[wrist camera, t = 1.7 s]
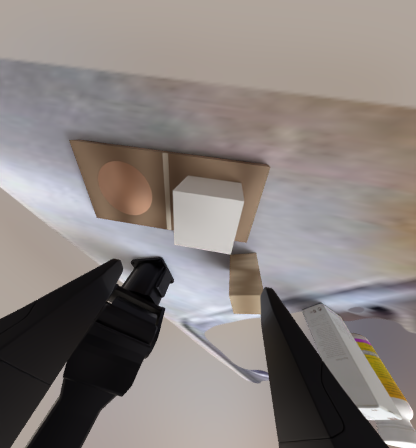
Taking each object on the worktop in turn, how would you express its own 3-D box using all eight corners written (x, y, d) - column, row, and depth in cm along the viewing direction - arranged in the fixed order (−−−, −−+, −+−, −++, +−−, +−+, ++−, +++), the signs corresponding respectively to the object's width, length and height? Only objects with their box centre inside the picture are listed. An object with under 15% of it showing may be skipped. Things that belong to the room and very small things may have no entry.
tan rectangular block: (233, 271, 26) (233, 313, 20) (230, 254, 24) (229, 295, 18) (257, 270, 25) (265, 314, 19) (256, 252, 23) (264, 295, 17)
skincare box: (300, 310, 29) (337, 408, 19) (323, 301, 26) (379, 407, 16) (320, 323, 30) (364, 421, 20) (343, 316, 28) (406, 422, 18)
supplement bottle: (336, 329, 30) (393, 438, 20) (373, 334, 30) (453, 450, 19) (323, 343, 34) (365, 441, 23) (356, 347, 33) (415, 452, 22)
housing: (186, 220, 20) (174, 244, 16) (187, 175, 17) (172, 190, 12) (231, 227, 20) (230, 254, 15) (241, 183, 16) (244, 201, 12)
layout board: (102, 213, 23) (96, 217, 22) (78, 139, 17) (68, 140, 16) (245, 237, 21) (246, 242, 20) (267, 164, 16) (270, 167, 15)
